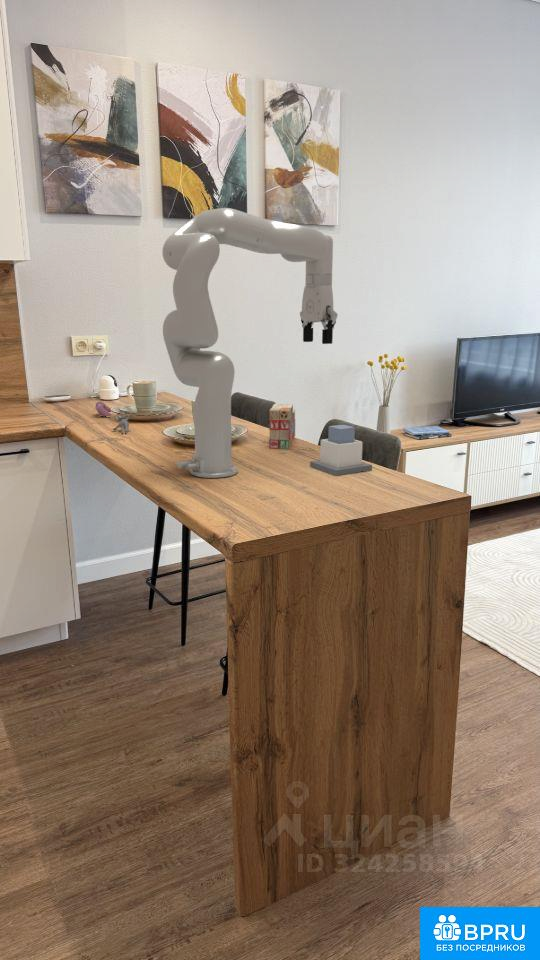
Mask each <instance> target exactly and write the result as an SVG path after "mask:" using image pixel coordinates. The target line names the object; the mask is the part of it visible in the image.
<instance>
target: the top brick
mask: <svg viewBox="0 0 540 960" xmlns="http://www.w3.org/2000/svg"><path fill="white" fill-rule="evenodd" d="M355 433H356V427H353V426H351V425H347V424H337V425H335V424H334V425H329V426H328V436H327V437H328V438H327V439H328V441H329V442H332V443H336V444H346V443H354V440H355V437H356V436H355Z"/></svg>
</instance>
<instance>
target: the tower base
mask: <svg viewBox="0 0 540 960" xmlns="http://www.w3.org/2000/svg"><path fill="white" fill-rule="evenodd" d="M319 452H320V457H319V458H320V459H316V460H311V461H309V468H313V469H316V470H318V471H321V472H323V473H327V474H330V475H332V476H335V477H338V476H346V475H349V474H350V473H352V474H356V472H359V473H362V472H361V471H365V472H369V471H368V470H372V471H373V464H370V463H368V462H364V461H363V441H361V440H359V439H358V440H357V439H354V443H346V444H336V443H332V442H329V441H328V438H325V439H320V451H319ZM350 475H351V474H350Z"/></svg>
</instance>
